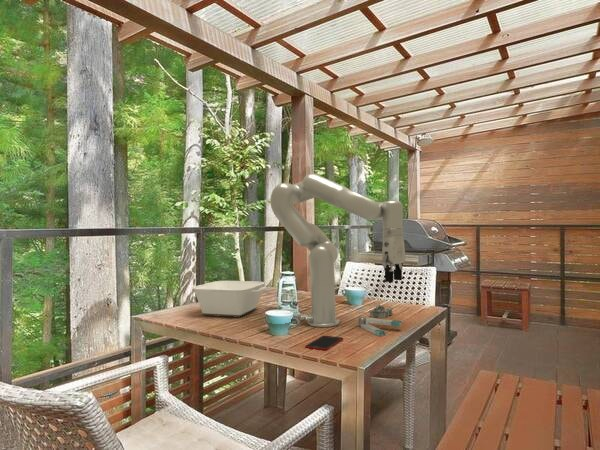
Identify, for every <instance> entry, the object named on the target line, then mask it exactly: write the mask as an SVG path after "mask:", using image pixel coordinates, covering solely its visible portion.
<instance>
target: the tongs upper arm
mask: <svg viewBox="0 0 600 450" xmlns="http://www.w3.org/2000/svg"><path fill="white" fill-rule="evenodd" d="M402 322H403V321H402V320H397V319H396V320H395V319H394V320H393V319H392V320H391V319H386V318H377V317H367V318H366V323H368V324H371V325H372V324H374V325H383V326H389V327H390V326H391V327H399V328H400V327H401V326H403V325H402Z"/></svg>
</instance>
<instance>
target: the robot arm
mask: <svg viewBox="0 0 600 450" xmlns="http://www.w3.org/2000/svg"><path fill="white" fill-rule="evenodd" d="M314 198H316V199H318V200H320V201H323V202H325V203H327V204H330V205H331V206H334V207H336V208H338V209H342V210H345V211H347V212H349V213H351V214H353V215H356V216H357V217H359V218H362V219H364V220H366V221H379V220H382V250H381V251H382V252H381V254H382V255H381V257H382V258H381V259H382V260H381V265H382V267H383V271H384V281H385V283H393V282H394V280H395V281H402V280H403V264H404V263H405V261H406V248H405V240H404V227H403V226H404V223H403V222H404V221H403V219H404V217H403V215H404V214H403V203H402V202H401V201H399V200H387V201H386V200H385V201H383V202H382V201H377V200H374V199H370V198H369V197H367V196H364V195H362V194H360V193H357V192H355V191H353V190H351V189H349V188H348V187H346V186H344V185H342V184H340V183H337V182H335V181H333V180H330V179H328V178H326V177H323V176H321V175H319V174H316V173H308V174H306V175H305V176H304V178H302V181H298V182H295V183H293V184H292V183H288V182H281V183H279V184H276V186H275V187H274V188H273V189H272V192H271V195H270V207H271V210H272V213H273V214H274V215H275V218H276V219H277V220H278V221H279V222H280V224H281V225H282V226H283V228H284V229H285V230H286V231H287V232H288V234H289V235H290V236H291V237H292V239H293V240H294V241H295V242H296V244H297V245H299V246H300V247H304V248H307V250H308V251H309V255H308V264H309V275H310V306H311V308H310V309H311V310H310V311H308V313H307V314H299V320H300V321H304V320H305V322H306V321H307V324H308V325H309V326H311V327H315V328H316V327H318V328H328V327H335V326H338V325H340V319H339V318H336V284H335V283H336V282H335V281H336V280H335V279H336V278H335V266H334V263H335V262H337V259H338V256H339V255H338V254H339V253H338V252H339V251H338V249H337V247H336V246H335V245H334V244H333V242H332V241H331V240H330V239H329V238H328V237H327V235H326V234H325V233H324V232H323V231H322V229H321V228H320V227H319V226H318V225H316V224H315V223H310V222H308V220H306V219H305V217H304V216H303V215H302V214H301V212H299V210H298V209H297V208H296V207H295V206H294V205H297V204H301V203H304V202H306V201H309V200H312V199H314ZM393 267H394V268H393Z"/></svg>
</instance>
